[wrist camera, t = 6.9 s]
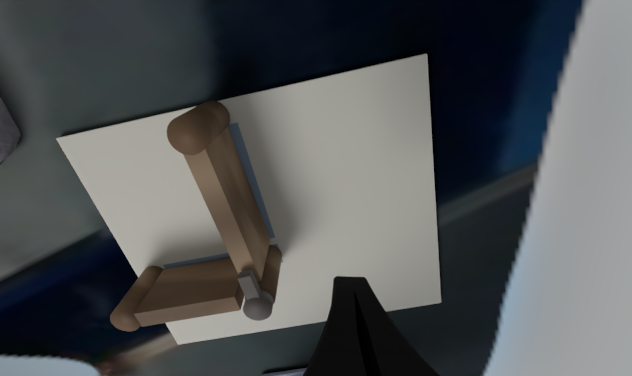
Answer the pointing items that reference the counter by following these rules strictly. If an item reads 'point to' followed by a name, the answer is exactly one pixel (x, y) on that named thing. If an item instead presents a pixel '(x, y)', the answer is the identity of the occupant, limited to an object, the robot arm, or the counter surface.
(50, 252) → the counter surface
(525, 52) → the counter surface
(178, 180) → the board
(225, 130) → the swing rail
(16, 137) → the stone block
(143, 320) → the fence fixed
